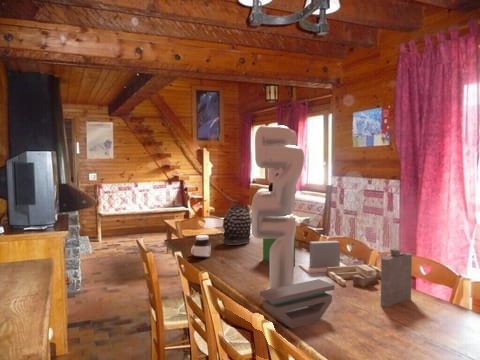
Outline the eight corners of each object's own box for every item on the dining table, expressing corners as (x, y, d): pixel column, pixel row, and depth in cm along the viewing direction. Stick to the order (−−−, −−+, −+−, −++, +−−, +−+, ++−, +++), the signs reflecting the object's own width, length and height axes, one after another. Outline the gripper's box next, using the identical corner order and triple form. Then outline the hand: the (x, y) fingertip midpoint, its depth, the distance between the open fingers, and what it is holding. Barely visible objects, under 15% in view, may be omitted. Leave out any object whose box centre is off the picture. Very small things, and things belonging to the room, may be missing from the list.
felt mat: (351, 270, 189) (351, 268, 189) (307, 272, 185) (307, 270, 185) (340, 263, 201) (340, 261, 201) (299, 266, 197) (299, 264, 197)
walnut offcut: (377, 281, 172) (378, 272, 172) (363, 288, 164) (363, 278, 164) (367, 279, 176) (367, 270, 176) (352, 285, 168) (353, 276, 168)
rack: (391, 282, 170) (391, 274, 170) (342, 286, 166) (342, 277, 166) (371, 271, 186) (371, 264, 186) (326, 274, 182) (326, 267, 182)
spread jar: (205, 260, 209) (204, 238, 209) (185, 258, 213) (185, 237, 212) (213, 254, 221) (213, 234, 220) (195, 253, 224) (195, 233, 224)
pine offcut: (364, 271, 175) (364, 264, 175) (375, 277, 166) (375, 270, 166) (356, 271, 174) (356, 265, 174) (367, 277, 165) (367, 270, 165)
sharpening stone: (273, 333, 121) (274, 298, 121) (259, 324, 128) (259, 291, 127) (334, 316, 134) (334, 285, 133) (318, 309, 141) (318, 279, 140)
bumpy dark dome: (241, 239, 263) (241, 202, 262) (257, 242, 252) (257, 203, 251) (217, 243, 249) (216, 204, 248) (232, 247, 238) (232, 206, 237)
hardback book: (295, 265, 198) (295, 218, 197) (283, 267, 195) (283, 219, 193) (274, 257, 214) (274, 213, 212) (263, 259, 210) (263, 214, 208)
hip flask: (386, 308, 141) (387, 253, 140) (376, 304, 144) (377, 250, 143) (412, 299, 150) (413, 247, 149) (403, 296, 153) (404, 245, 152)
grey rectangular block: (339, 266, 192) (339, 242, 191) (312, 268, 189) (312, 243, 189) (336, 264, 196) (336, 240, 195) (309, 265, 193) (309, 241, 193)
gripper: (287, 159, 179) (287, 196, 180) (277, 159, 196) (277, 193, 197) (271, 159, 177) (271, 197, 178) (262, 159, 194) (262, 193, 195)
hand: (274, 195), depth 187 cm, fingers open, 9 cm apart
